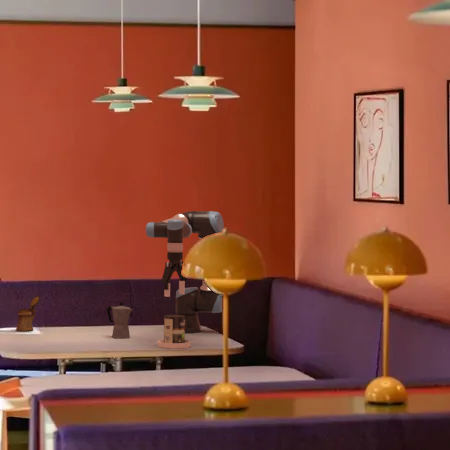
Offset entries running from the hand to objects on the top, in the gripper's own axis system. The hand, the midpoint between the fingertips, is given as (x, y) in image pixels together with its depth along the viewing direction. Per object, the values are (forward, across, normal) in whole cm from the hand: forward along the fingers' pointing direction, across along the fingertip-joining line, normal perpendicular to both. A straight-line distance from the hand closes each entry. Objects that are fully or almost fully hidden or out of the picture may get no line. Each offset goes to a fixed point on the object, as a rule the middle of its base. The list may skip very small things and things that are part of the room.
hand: (174, 295), depth 580 cm
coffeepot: (+25, -12, -40) cm, 48 cm away
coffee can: (+24, 0, 0) cm, 24 cm away
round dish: (+25, 0, 0) cm, 25 cm away
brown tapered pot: (+25, -8, -95) cm, 98 cm away
